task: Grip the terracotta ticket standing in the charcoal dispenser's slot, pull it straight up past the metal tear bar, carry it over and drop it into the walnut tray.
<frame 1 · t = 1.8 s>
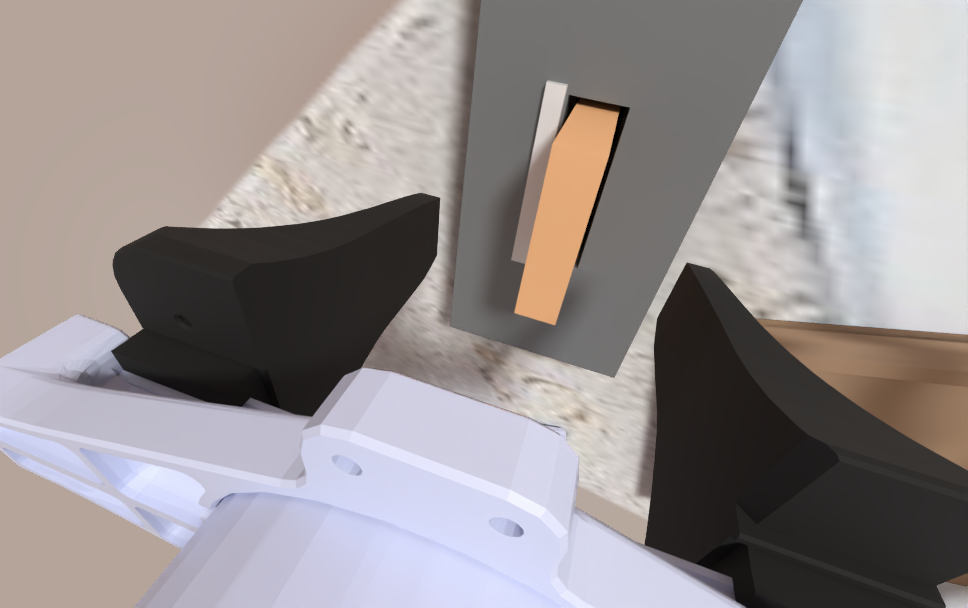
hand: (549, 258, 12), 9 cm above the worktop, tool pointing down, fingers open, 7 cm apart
tray: (832, 438, 23), on the worktop
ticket: (572, 196, 16), in the dispenser
dispenser: (584, 162, 19), on the worktop
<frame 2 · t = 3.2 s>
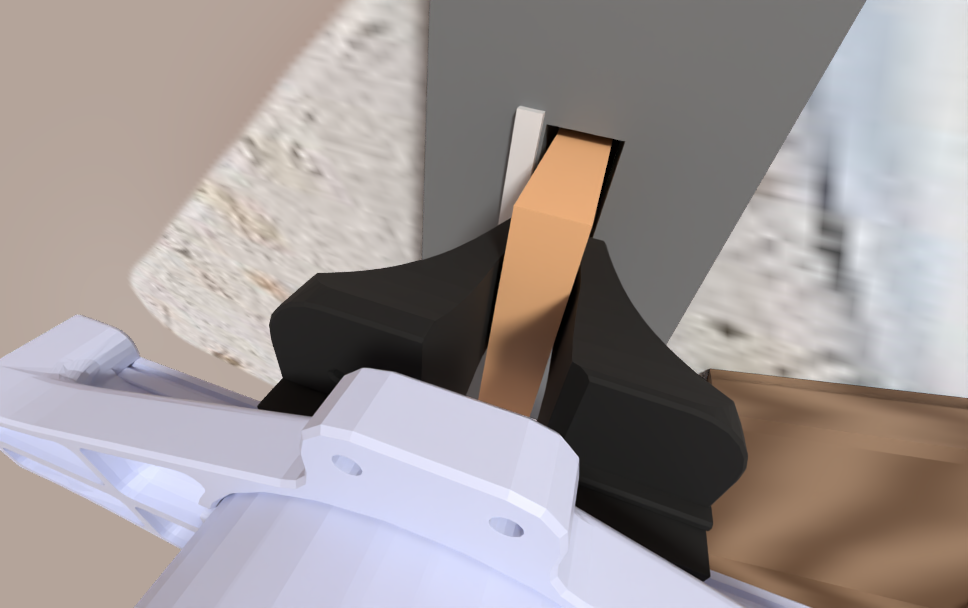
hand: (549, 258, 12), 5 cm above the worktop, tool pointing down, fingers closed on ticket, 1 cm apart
tray: (860, 505, 20), on the worktop
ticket: (553, 247, 13), in the dispenser, touching gripper
dispenser: (571, 196, 16), on the worktop
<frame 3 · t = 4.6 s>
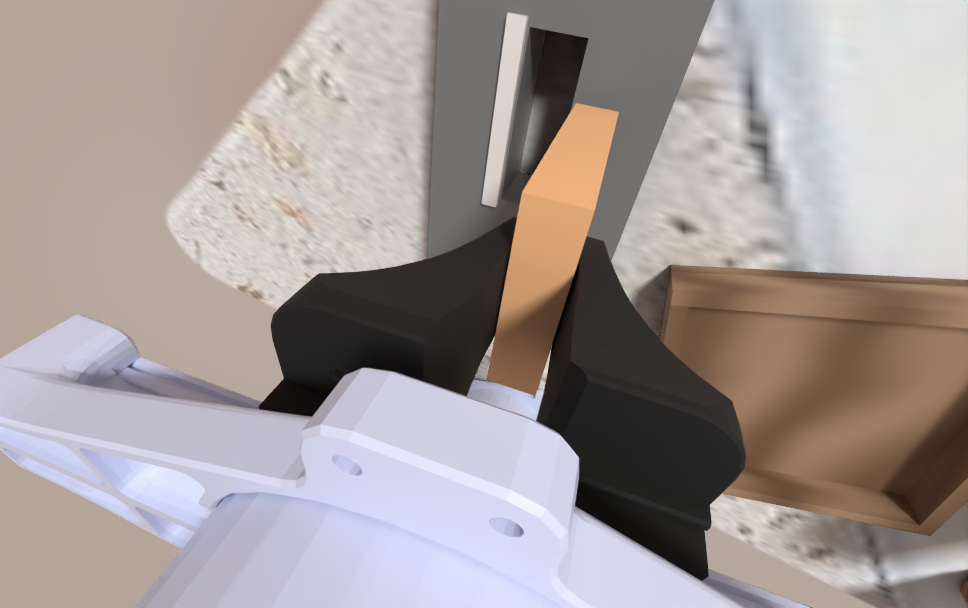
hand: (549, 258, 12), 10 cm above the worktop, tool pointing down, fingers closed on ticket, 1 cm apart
tray: (801, 390, 24), on the worktop
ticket: (557, 236, 13), point 9 cm above the worktop, touching gripper
dispenser: (554, 109, 19), on the worktop
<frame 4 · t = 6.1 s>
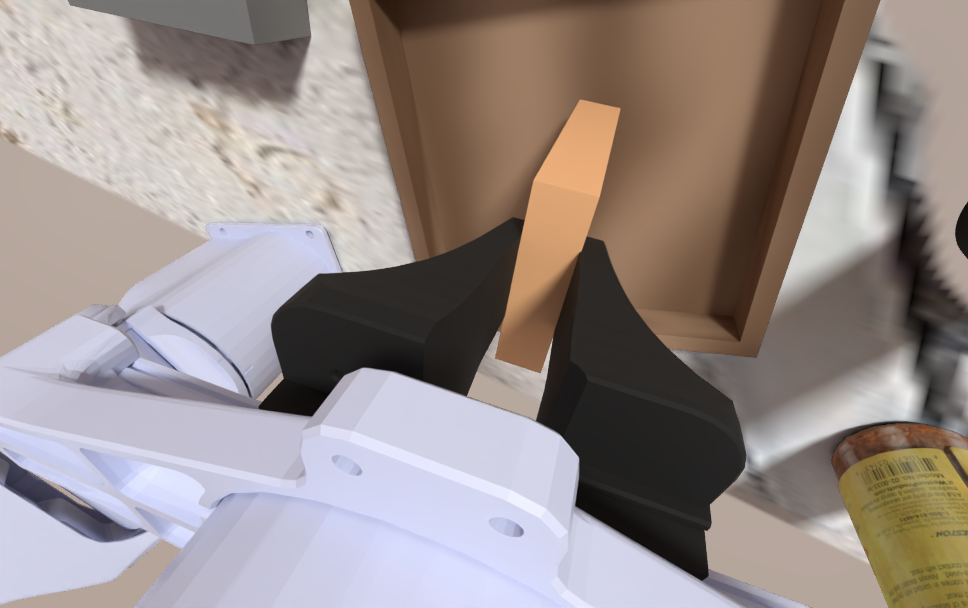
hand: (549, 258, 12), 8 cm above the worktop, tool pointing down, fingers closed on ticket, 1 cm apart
sauce bottle: (901, 451, 22), on the worktop
tray: (582, 165, 18), on the worktop
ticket: (561, 225, 14), point 6 cm above the worktop, touching gripper
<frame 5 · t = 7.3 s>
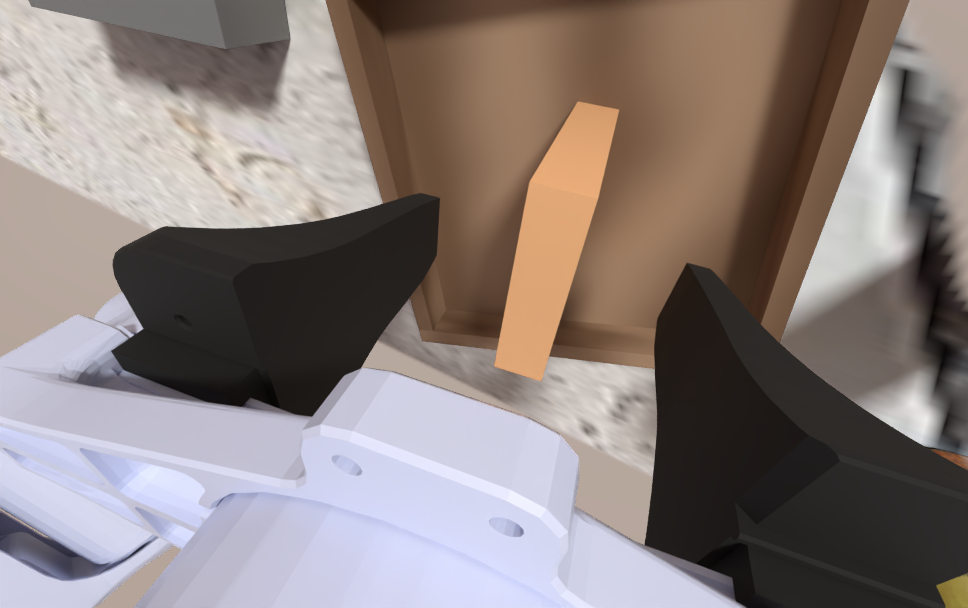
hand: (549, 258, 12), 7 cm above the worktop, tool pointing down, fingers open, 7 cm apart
sauce bottle: (916, 476, 21), on the worktop
tray: (579, 176, 17), on the worktop
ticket: (561, 229, 14), in the tray, point 5 cm above the worktop
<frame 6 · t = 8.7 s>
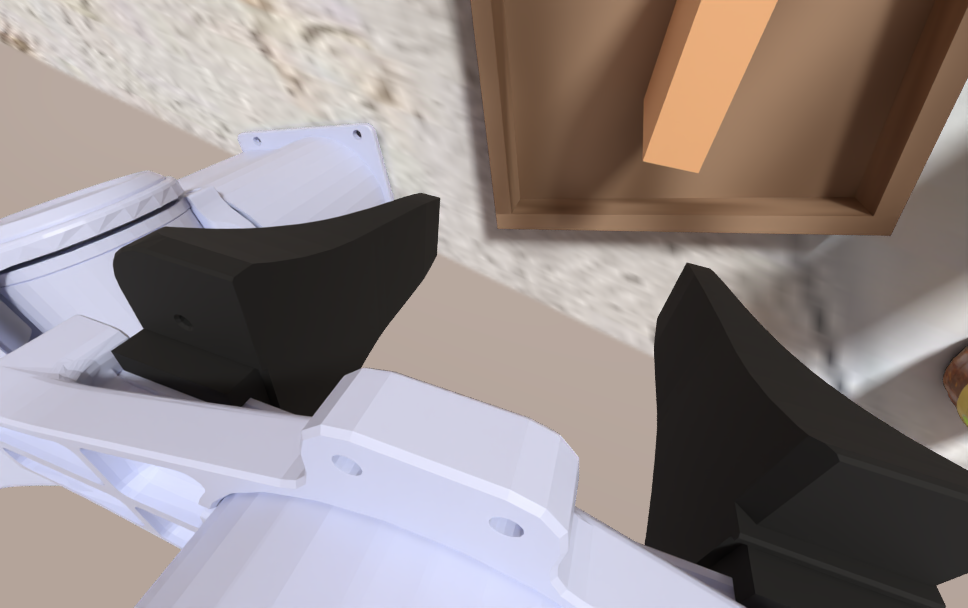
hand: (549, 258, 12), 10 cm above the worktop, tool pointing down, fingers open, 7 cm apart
tray: (691, 13, 16), on the worktop
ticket: (704, 25, 12), in the tray, point 5 cm above the worktop
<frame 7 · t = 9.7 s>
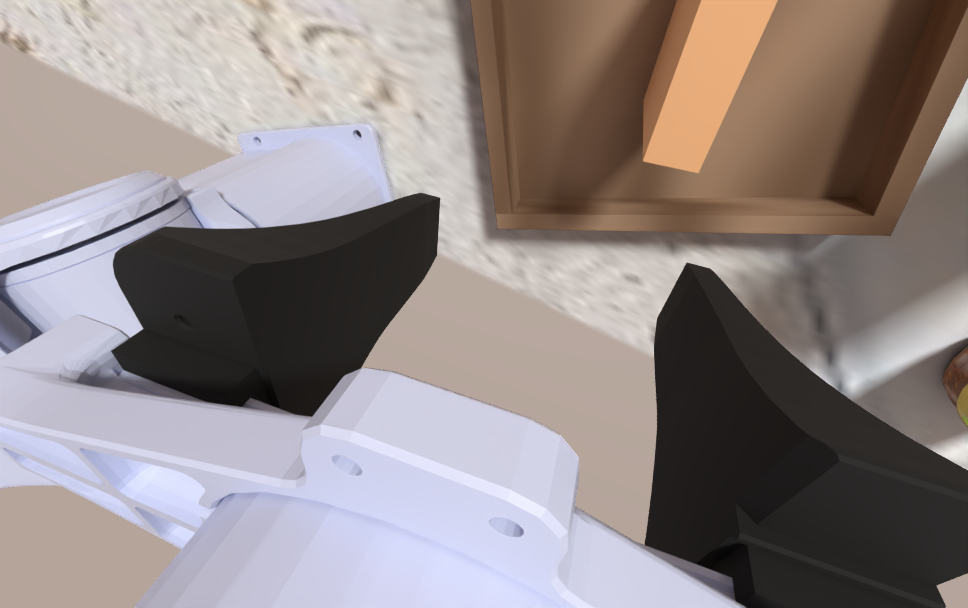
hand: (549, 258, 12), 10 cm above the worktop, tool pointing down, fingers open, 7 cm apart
tray: (691, 13, 16), on the worktop
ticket: (704, 25, 12), in the tray, point 5 cm above the worktop
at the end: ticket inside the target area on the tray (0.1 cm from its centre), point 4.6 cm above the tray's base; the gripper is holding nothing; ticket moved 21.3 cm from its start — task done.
